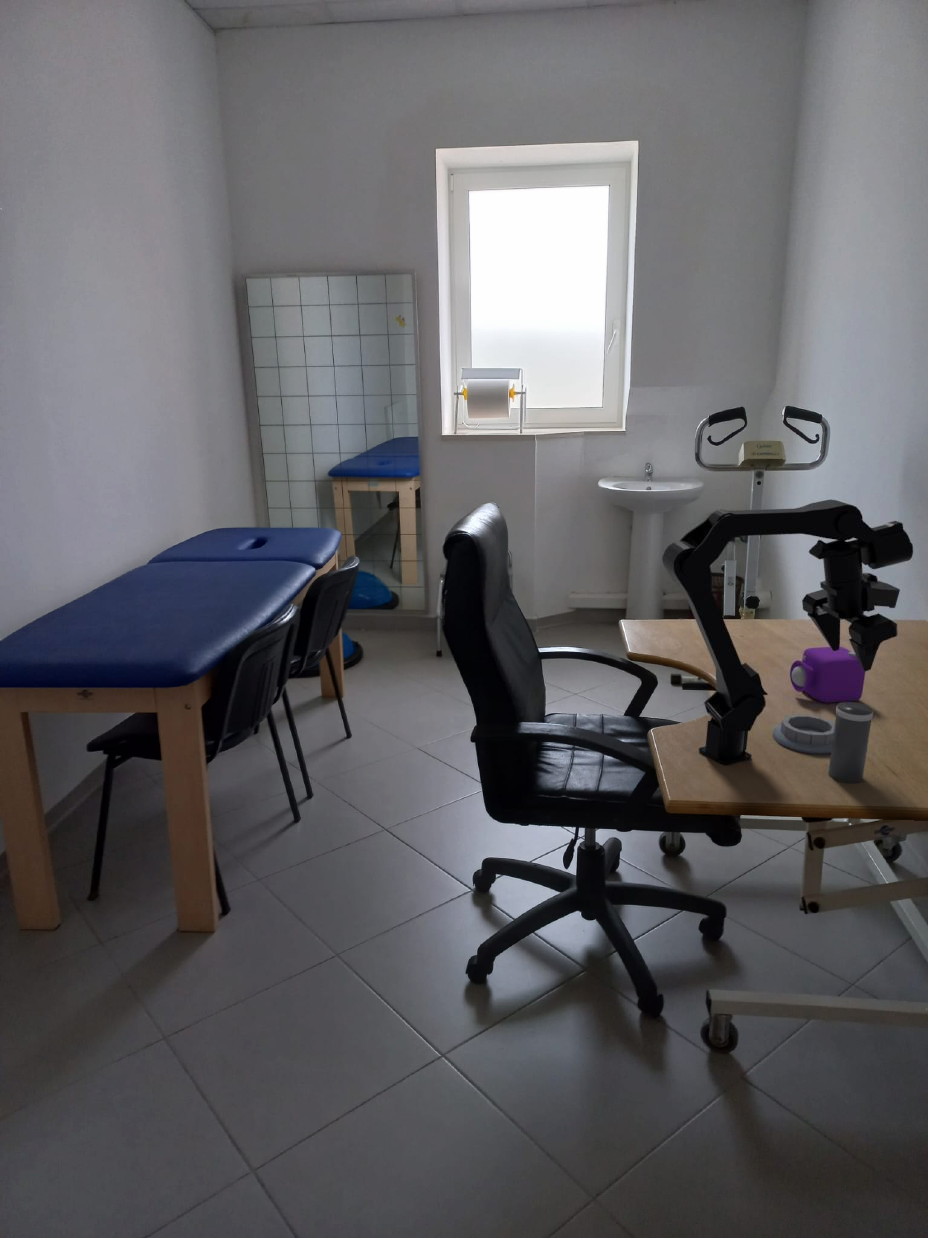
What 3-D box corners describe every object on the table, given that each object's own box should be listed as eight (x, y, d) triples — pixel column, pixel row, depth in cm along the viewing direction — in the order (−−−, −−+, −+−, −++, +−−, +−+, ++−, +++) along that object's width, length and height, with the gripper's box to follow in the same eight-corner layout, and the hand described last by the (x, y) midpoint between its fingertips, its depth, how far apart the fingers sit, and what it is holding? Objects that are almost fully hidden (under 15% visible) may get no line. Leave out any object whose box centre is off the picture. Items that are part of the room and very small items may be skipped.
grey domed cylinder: (847, 786, 136) (857, 716, 133) (820, 772, 141) (829, 705, 138) (870, 779, 139) (880, 710, 135) (843, 766, 143) (852, 699, 140)
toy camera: (777, 691, 177) (782, 646, 174) (829, 683, 181) (835, 639, 179) (815, 710, 167) (821, 662, 164) (868, 701, 172) (875, 654, 169)
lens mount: (811, 759, 146) (813, 743, 145) (758, 733, 156) (760, 718, 155) (859, 746, 151) (861, 730, 150) (805, 722, 161) (806, 707, 160)
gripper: (926, 578, 131) (931, 667, 137) (856, 548, 149) (862, 628, 154) (859, 598, 131) (866, 687, 136) (796, 565, 148) (805, 645, 154)
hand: (851, 660), depth 145 cm, fingers open, 9 cm apart
